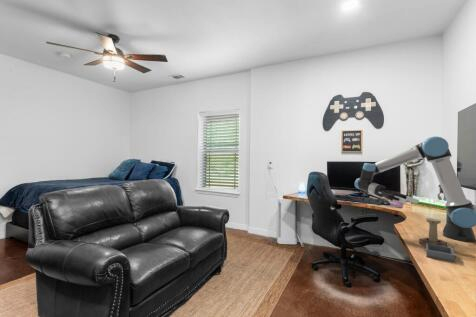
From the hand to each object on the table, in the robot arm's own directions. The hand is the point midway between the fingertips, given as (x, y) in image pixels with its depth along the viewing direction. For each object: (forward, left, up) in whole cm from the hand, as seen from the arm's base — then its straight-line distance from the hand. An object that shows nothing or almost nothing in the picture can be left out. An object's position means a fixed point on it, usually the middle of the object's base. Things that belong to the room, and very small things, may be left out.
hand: (412, 201), depth 139 cm
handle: (-7, +7, -24) cm, 26 cm away
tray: (+3, +18, -24) cm, 30 cm away
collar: (-7, +7, -24) cm, 26 cm away
